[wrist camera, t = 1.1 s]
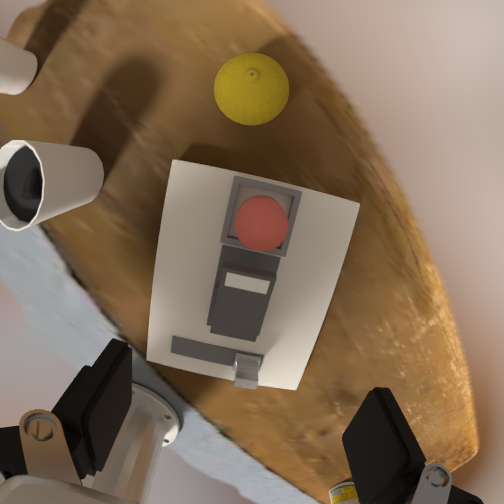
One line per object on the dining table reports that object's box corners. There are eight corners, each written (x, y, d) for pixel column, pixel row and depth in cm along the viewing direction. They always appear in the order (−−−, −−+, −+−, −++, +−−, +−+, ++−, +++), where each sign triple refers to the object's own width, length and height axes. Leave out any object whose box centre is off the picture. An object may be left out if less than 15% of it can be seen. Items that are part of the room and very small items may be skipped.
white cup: (107, 138, 25) (44, 131, 15) (109, 207, 26) (49, 229, 17) (54, 148, 25) (-13, 149, 15) (57, 211, 26) (-7, 233, 17)
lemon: (259, 143, 25) (261, 132, 17) (207, 108, 24) (188, 85, 16) (296, 95, 24) (313, 68, 16) (244, 61, 23) (241, 23, 15)
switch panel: (293, 378, 32) (297, 399, 28) (151, 349, 31) (142, 368, 27) (353, 201, 26) (366, 206, 23) (178, 159, 25) (167, 159, 22)
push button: (277, 245, 24) (281, 256, 21) (232, 235, 24) (230, 244, 21) (289, 200, 23) (294, 205, 20) (242, 190, 23) (241, 193, 20)
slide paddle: (256, 371, 28) (256, 392, 25) (232, 367, 28) (230, 388, 25) (260, 357, 28) (261, 378, 25) (236, 352, 28) (234, 373, 25)
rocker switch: (255, 335, 26) (255, 342, 26) (211, 326, 26) (209, 333, 25) (276, 272, 23) (276, 279, 22) (224, 261, 23) (222, 268, 22)
